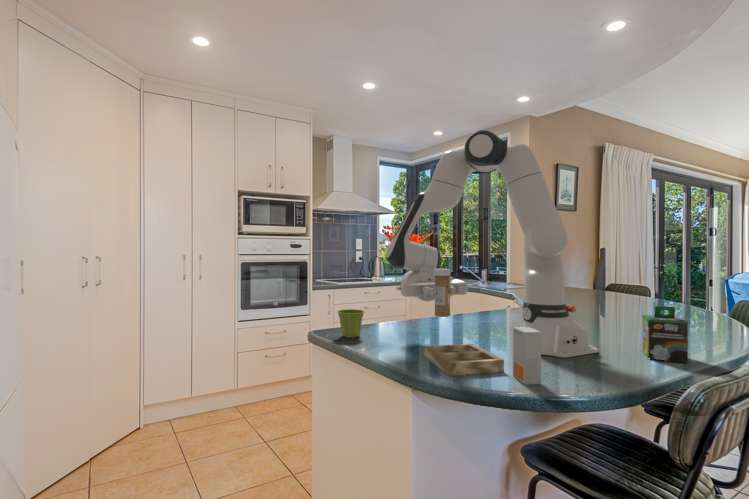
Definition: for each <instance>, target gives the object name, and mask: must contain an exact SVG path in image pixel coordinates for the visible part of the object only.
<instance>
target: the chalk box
mask: <svg viewBox="0 0 749 499" xmlns="http://www.w3.org/2000/svg"><path fill="white" fill-rule="evenodd" d="M662 311H668V312H669V313H668V314H662V313H661V312H662ZM641 319H642V320H641V322H642V326H641V327H642V353H643V352H644V353H645V354H646V355H645V354H644V353H643V354H644V355H645V356H647V357H648V358H650V359H656V360H655V361H661V360H665V361H664V362H668V361H673V362H672V363H677V362H680V364H685V363H687V364H688V363H689V361H688V359H689V358H688V357H689V356H688V355H689V352H688V350H689V349H688V347H689V334H688V333H689V330H688V328H689V322H688V321H687V320H686V319H684V318H682V317H681V316H678V315H676V307H675V306H666V305H665V306H664V305H656V306H655V308H654V314H642V317H641ZM647 357H646V358H647ZM648 358H647V359H648Z"/></svg>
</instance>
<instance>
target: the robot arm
mask: <svg viewBox="0 0 749 499" xmlns="http://www.w3.org/2000/svg"><path fill="white" fill-rule="evenodd" d="M495 171H498V172H499V173H500V175H501V178H502V180H503V183H504V186H505V188H506V191H507V194H508V196H509V199H510V203H511V205H512V208H513V211H514V214H515V216H516V218H517V220H518V223H519V225H520V228H521V232H522V233H523V262H524V266H523V267H524V301H523V302H522V318H523V325H522V327H530V328H533V329H536V330H537V331H540V332H541V356H542V355H543V356H552V357H553V356H554V357H558V358H562V359H563V358H564V359H565V358H572V357H579V356H584V355H590V354H597V353H599V350H598V348H597V347H596V346H594V345H592V344H590V339H589V334H588V332H587V330H586V329H585V328H584V327H583V326H582V325H580V324H579V323H578V322H576V321H575V320H574V319H573V318H571V317H570V313H574V314H575V313H576V311H578V310H577V307H576V305H571V304H569V305H566V303H565V275H564V266H563V254H562V253H563V252H564V251H565V250H566V248H567V246H568V243H569V235H568V232H567V229H566V227H565V224H564V222H563V220H562V217H561V216H560V213H559V211H558V209H557V207H556V205H555V203H554V201H553V198H552V196H551V194H550V191H549V189H548V186H547V183H546V181H545V178H544V175H543V172H542V169H541V166H540V165H539V162H538V160H537V158H536V157H535V154H534V153H533V151H532V149H531V148H530V147H529V146H528V145H526V144H524V143H516V144H512V145H509V146H508V144H507V142H505V141H504V140H503V139H502V138H500V137H499V136H498V135H497V134H495V133H494V132H492V131H489V130H485V129H483V130H477V131H475V132H473V133H472V134H470V136H468V138H467V139H466V141H465V144H464V150H460V151H459V150H454V149H453V150H448V151H445V152H444V153H443V154H442V155H441V156H440V159H439V161H438V163H437V165H436V167H435V168H434V172H433V174H432V178H431V179H430V180H431V181H430V183H429V185H428V186H427V187H426V189H425V190H424V191H423V192H420V193H419V192H418V194H417V195H415V197H414V199H413V200H412V201H411V203H410V206H409V207H408V209H407V211H406V213H405V215H404V216H403V218H402V221H401V223H400V224H399V226H398V228H397V231H396V232H395V234H394V236H393V238H392V239H391V241H390V242H389V244H388V247H387V248H386V252H385V259H386V260H387V263H388V264H389V265H390V266H391V267H392V268H395V269H401V270H406V271H407V272H406V273H404V274H403V275H402V277H401V279H400V286H396V288H395V289H396V290H397V291H400V295H401V296H403V297H404V298H405V297H407V298H410V297H411V298H412V297H413V298H416V299H417V300H421V301H423V302H431V301H435V295H436V294H437V292H436V291H437V290H436V288H435V275H434V270H435V269H442V264H443V263H442V262H443V261H442V257H441V254H440V251H439V250H438V248H437V247H434V246H431V245H427V244H422V243H419V242H415V241H412V240H410V237H411V235H412V233H413V232H414V229H415V227H416V225H417V223H418V222H419V220H420V218H421V217H422V216H424V215H426V214H430V213H438V212H439V213H441V212H445V211H449V210H451V209H453V208H455V207H457V205H458V204H459V202H460V200H461V198H462V197H463V193H464V189H465V187H466V184H467V180H468V178H469V177H470V175H471V174H472V175H477V174H478V175H479V174H481V175H482V174H489V173H493V172H495ZM467 294H468V283H467V282H466V281H464V280H462V279H457V278H453V276H451V275H450V297H452V296H460V295H461V296H462V295H467ZM569 312H570V313H569Z"/></svg>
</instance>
